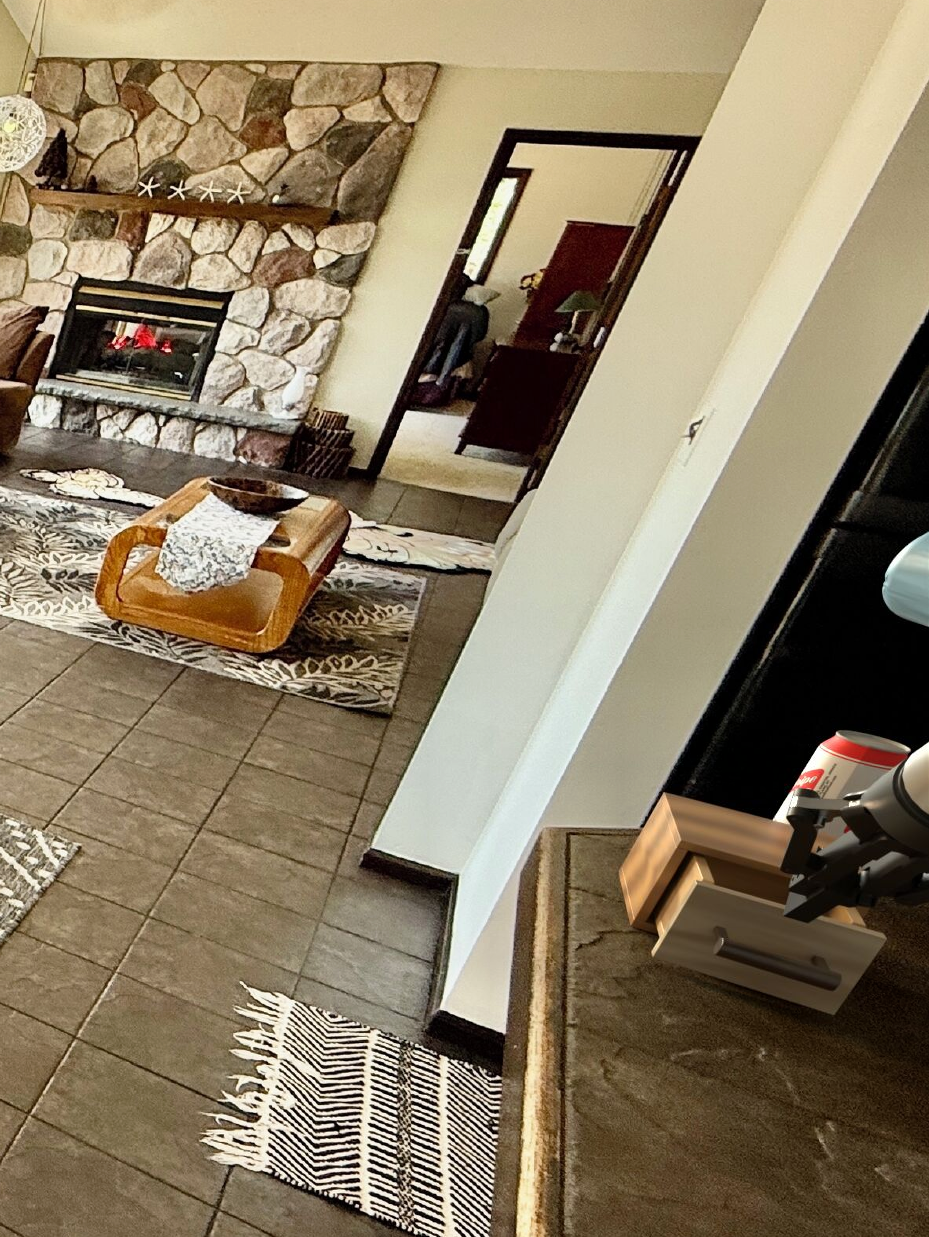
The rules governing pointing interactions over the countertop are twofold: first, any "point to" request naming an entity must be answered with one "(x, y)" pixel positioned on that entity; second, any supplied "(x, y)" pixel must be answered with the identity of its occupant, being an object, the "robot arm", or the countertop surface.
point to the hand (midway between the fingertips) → (799, 905)
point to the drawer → (760, 934)
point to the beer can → (846, 770)
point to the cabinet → (699, 849)
